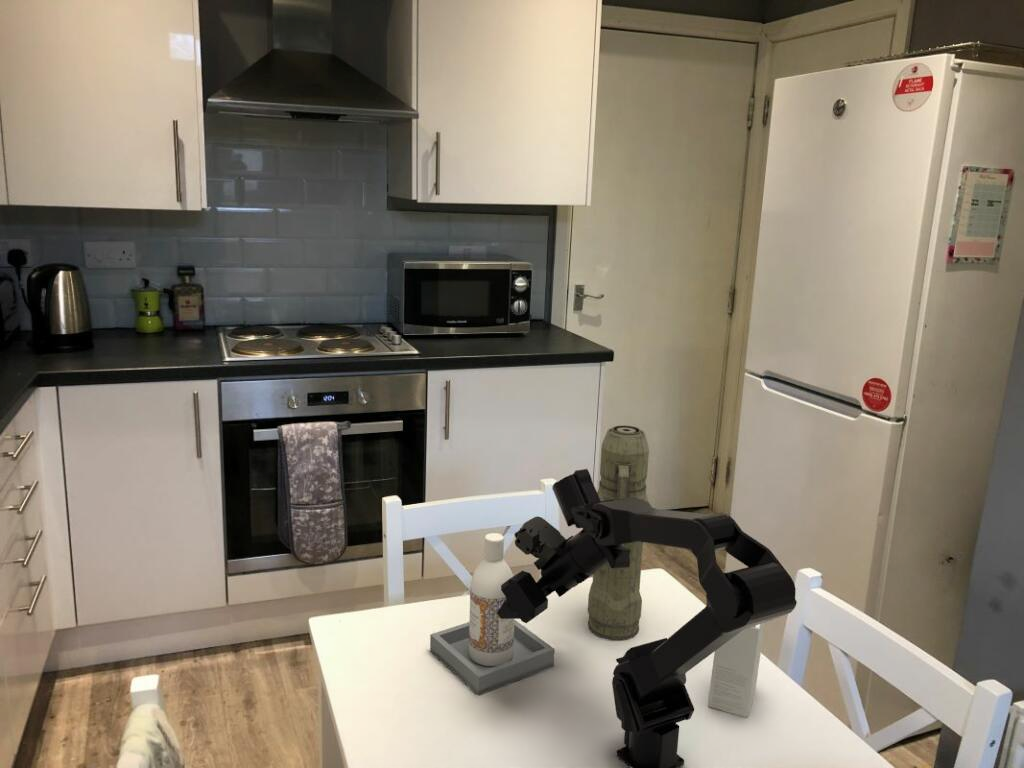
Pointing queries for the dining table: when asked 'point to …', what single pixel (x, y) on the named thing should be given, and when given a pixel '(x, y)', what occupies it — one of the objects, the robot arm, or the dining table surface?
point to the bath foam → (490, 607)
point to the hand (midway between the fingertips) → (516, 603)
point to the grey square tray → (481, 679)
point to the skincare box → (736, 672)
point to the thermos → (618, 588)
